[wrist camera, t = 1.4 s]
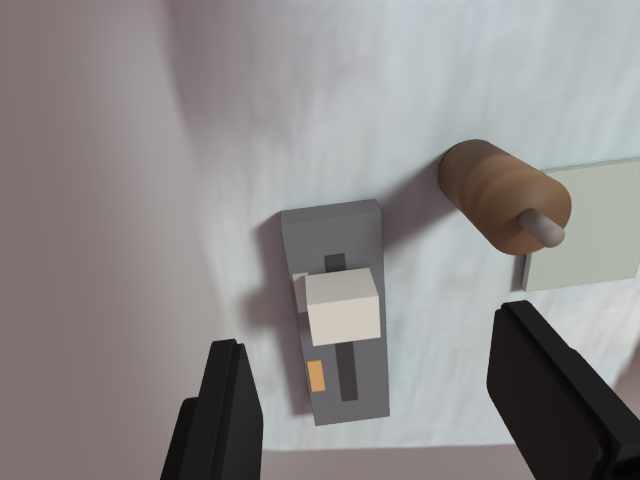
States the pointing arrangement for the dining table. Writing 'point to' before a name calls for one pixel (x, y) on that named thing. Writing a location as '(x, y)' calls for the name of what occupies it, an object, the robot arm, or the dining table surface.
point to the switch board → (323, 360)
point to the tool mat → (592, 228)
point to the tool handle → (505, 197)
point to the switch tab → (342, 306)
